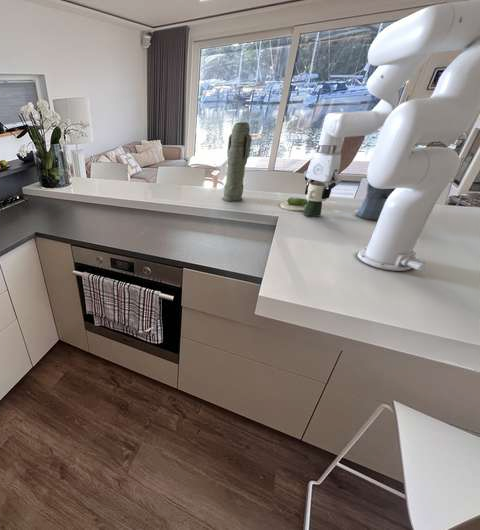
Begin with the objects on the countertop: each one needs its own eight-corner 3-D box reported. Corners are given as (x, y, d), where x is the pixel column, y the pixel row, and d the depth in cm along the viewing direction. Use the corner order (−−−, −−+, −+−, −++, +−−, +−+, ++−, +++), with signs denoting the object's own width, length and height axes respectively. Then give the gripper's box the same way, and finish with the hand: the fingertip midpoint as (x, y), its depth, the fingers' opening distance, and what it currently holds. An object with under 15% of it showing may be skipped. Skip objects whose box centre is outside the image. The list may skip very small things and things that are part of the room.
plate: (320, 208, 126) (320, 206, 125) (295, 213, 123) (296, 211, 123) (296, 200, 137) (296, 198, 136) (273, 204, 134) (273, 203, 134)
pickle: (307, 205, 128) (309, 198, 126) (305, 207, 126) (307, 200, 125) (287, 202, 133) (289, 196, 131) (285, 204, 131) (287, 197, 130)
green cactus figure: (236, 203, 139) (247, 123, 122) (217, 198, 148) (224, 123, 131) (248, 199, 143) (259, 121, 126) (228, 195, 152) (236, 122, 135)
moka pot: (371, 210, 119) (390, 160, 110) (399, 223, 106) (423, 168, 96) (347, 211, 121) (363, 161, 111) (371, 224, 107) (392, 169, 98)
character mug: (310, 210, 125) (318, 179, 118) (327, 214, 119) (336, 182, 113) (295, 215, 120) (302, 184, 114) (312, 220, 115) (321, 188, 109)
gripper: (301, 148, 114) (291, 192, 122) (342, 153, 99) (328, 203, 108) (316, 146, 115) (306, 189, 124) (359, 150, 101) (343, 200, 109)
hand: (316, 195), depth 116 cm, fingers closed on character mug, 7 cm apart
